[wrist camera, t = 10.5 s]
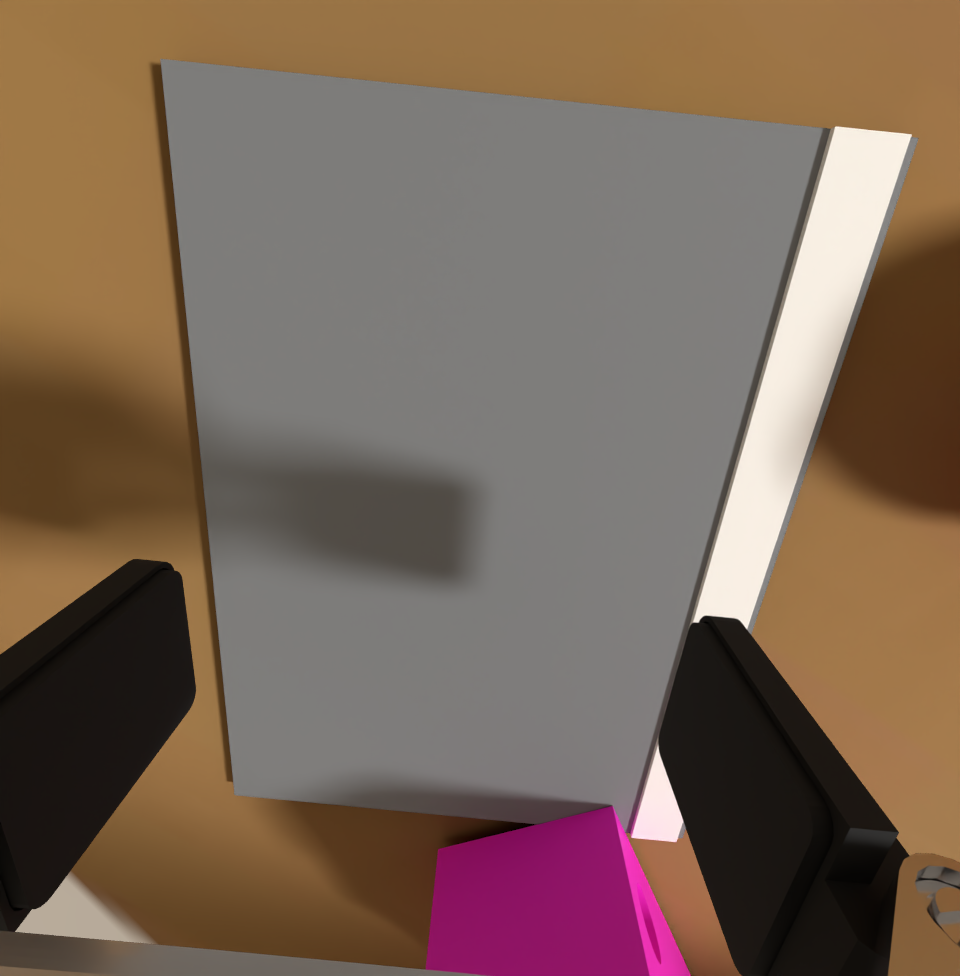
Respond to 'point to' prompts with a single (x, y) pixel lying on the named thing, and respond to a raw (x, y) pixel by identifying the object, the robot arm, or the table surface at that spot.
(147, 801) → the table surface
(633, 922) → the toy block
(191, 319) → the mat
